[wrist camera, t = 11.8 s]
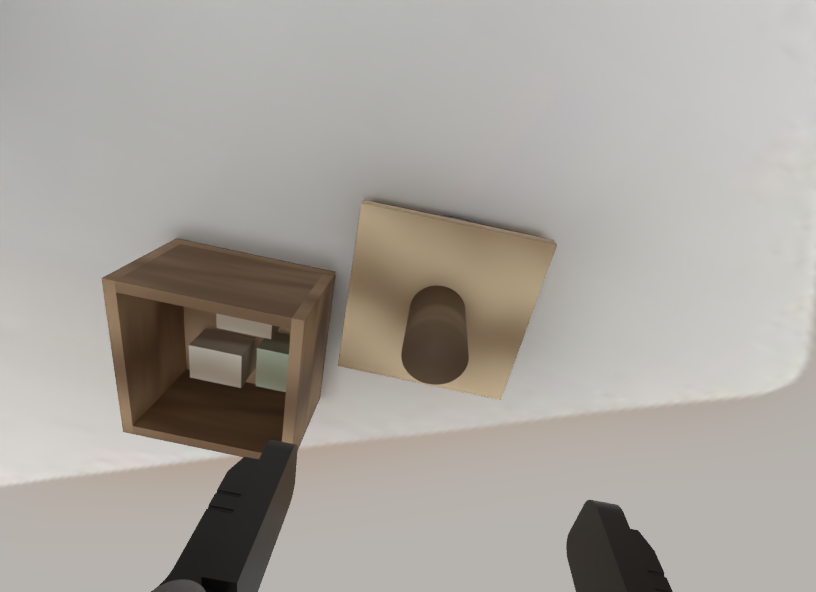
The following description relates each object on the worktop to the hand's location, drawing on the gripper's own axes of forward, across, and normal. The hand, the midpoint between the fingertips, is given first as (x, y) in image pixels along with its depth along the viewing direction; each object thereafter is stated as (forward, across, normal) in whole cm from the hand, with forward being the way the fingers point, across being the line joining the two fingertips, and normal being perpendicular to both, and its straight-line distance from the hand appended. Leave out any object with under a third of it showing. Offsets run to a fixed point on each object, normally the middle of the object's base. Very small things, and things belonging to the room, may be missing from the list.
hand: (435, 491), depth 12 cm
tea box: (+15, +11, +6) cm, 19 cm away
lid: (+13, 0, +1) cm, 13 cm away
